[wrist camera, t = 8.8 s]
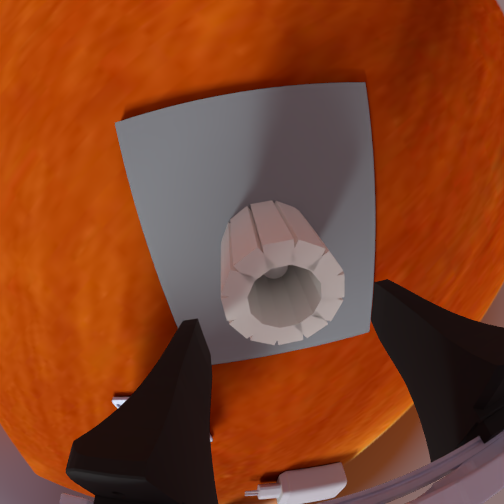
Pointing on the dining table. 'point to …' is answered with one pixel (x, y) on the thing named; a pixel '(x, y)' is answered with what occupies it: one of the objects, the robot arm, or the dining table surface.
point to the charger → (304, 485)
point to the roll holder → (254, 195)
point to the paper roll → (285, 287)
